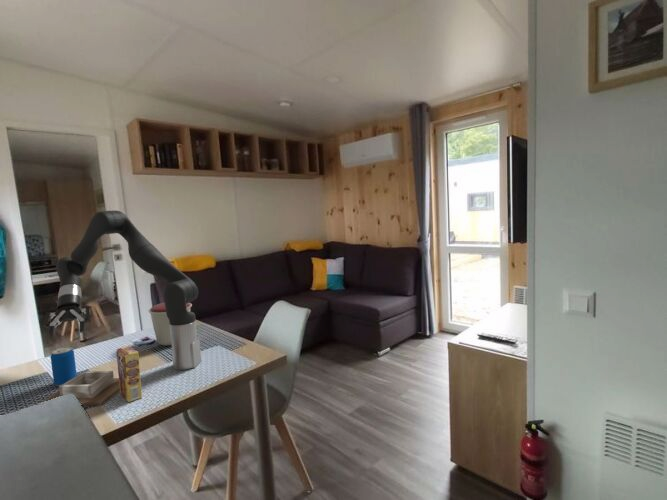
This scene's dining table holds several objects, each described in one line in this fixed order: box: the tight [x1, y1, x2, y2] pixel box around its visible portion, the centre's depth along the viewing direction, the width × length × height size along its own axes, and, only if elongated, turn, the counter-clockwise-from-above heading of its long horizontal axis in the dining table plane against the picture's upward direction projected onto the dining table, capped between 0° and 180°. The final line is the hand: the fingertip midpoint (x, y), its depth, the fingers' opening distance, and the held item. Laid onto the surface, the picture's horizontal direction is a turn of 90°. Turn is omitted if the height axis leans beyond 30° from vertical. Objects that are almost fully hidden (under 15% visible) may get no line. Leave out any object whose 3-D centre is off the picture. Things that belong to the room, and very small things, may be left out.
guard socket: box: [39, 370, 120, 407], centre depth 112 cm, size 20×16×5 cm
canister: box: [148, 302, 193, 347], centre depth 157 cm, size 18×18×21 cm
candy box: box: [116, 345, 143, 403], centre depth 109 cm, size 9×4×15 cm, turn 47°
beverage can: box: [50, 346, 78, 387], centre depth 120 cm, size 6×6×12 cm
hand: (67, 334), depth 128 cm, fingers open, 8 cm apart
